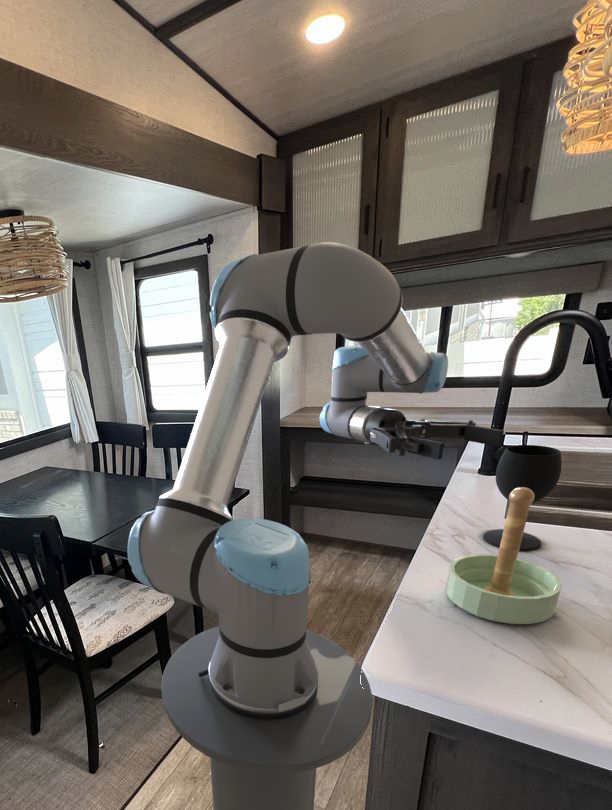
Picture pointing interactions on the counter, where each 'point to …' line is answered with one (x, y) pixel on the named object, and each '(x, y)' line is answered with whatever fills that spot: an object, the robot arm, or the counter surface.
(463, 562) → the bowl
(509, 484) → the wine glass
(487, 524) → the counter surface
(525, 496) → the wooden pestle
